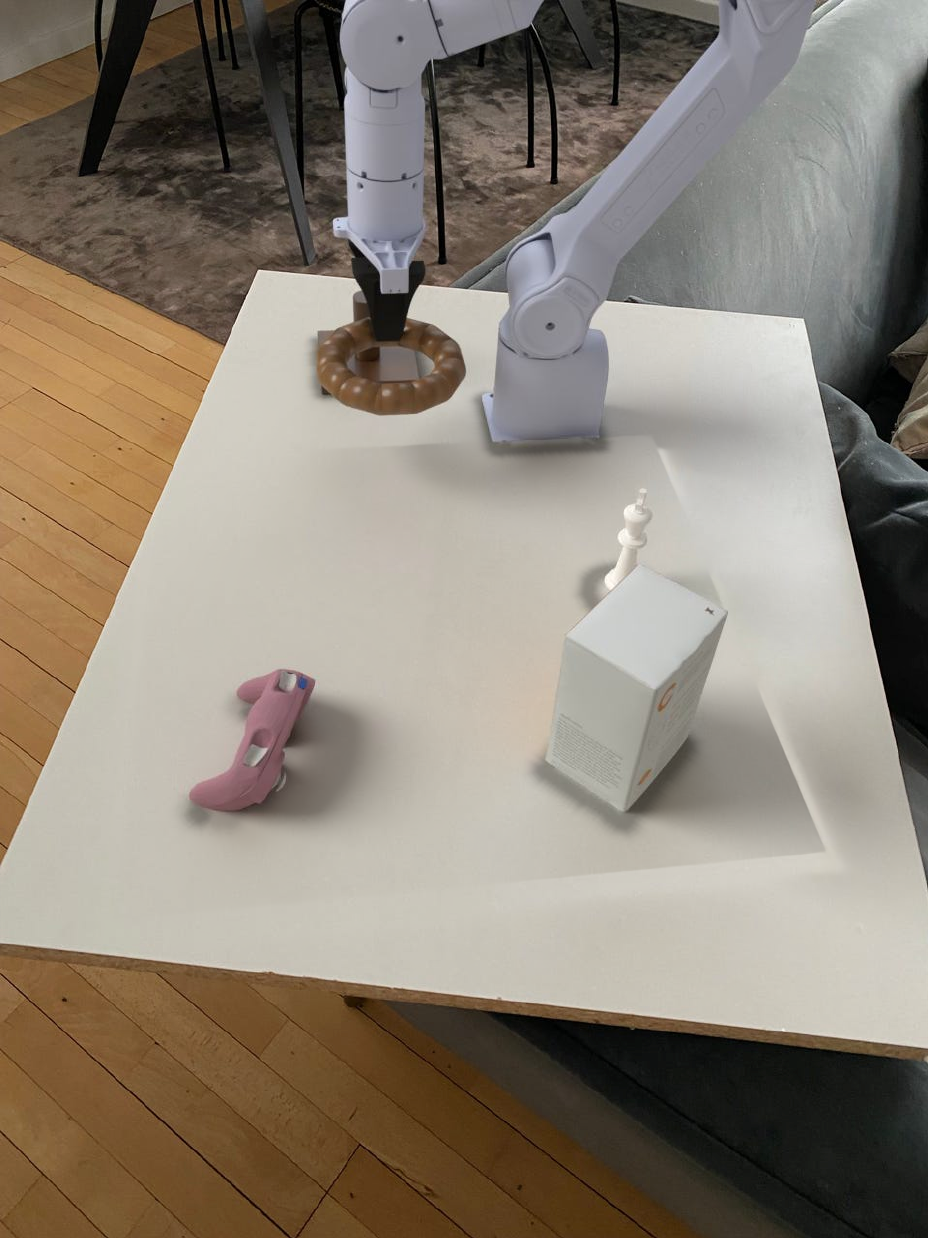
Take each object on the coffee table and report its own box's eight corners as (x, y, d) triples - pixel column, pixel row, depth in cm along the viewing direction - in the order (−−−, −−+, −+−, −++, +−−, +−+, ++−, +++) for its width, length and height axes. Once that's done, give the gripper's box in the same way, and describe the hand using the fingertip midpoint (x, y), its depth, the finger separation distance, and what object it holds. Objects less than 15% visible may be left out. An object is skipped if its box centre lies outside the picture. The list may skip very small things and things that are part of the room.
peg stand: (410, 338, 103) (411, 270, 97) (419, 391, 97) (421, 321, 91) (318, 341, 102) (314, 272, 96) (321, 394, 95) (317, 324, 90)
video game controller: (247, 840, 65) (288, 793, 60) (179, 809, 64) (216, 758, 59) (296, 718, 72) (337, 667, 67) (236, 688, 71) (273, 633, 66)
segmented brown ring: (452, 333, 89) (453, 308, 88) (474, 417, 82) (476, 391, 80) (313, 338, 88) (312, 313, 86) (322, 424, 80) (320, 398, 78)
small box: (607, 697, 72) (639, 559, 63) (687, 745, 70) (733, 609, 60) (539, 770, 68) (562, 633, 58) (621, 825, 65) (660, 691, 56)
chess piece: (658, 580, 81) (684, 478, 73) (645, 623, 77) (670, 521, 70) (596, 564, 82) (616, 461, 74) (580, 606, 78) (599, 503, 71)
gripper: (325, 125, 81) (332, 286, 91) (336, 210, 71) (343, 380, 81) (415, 124, 82) (413, 283, 92) (438, 209, 72) (433, 376, 82)
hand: (386, 329), depth 87 cm, fingers closed on segmented brown ring, 2 cm apart
